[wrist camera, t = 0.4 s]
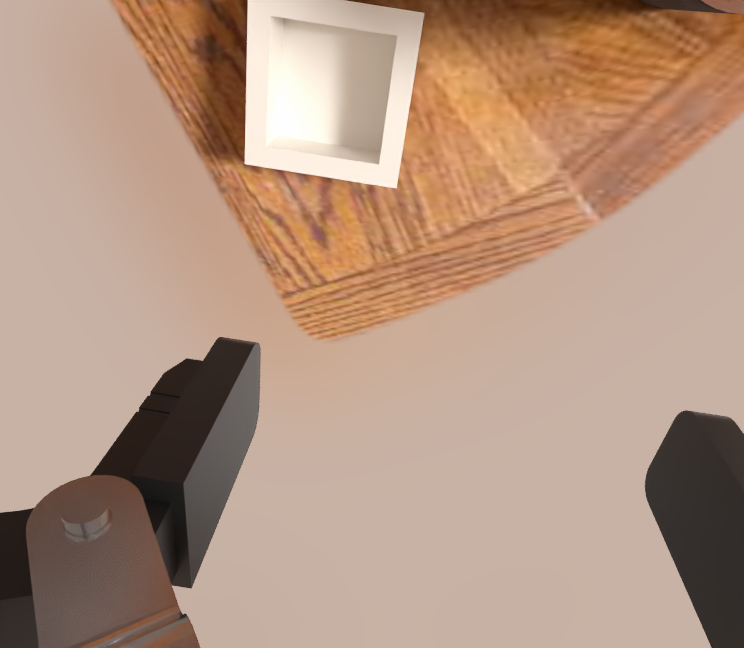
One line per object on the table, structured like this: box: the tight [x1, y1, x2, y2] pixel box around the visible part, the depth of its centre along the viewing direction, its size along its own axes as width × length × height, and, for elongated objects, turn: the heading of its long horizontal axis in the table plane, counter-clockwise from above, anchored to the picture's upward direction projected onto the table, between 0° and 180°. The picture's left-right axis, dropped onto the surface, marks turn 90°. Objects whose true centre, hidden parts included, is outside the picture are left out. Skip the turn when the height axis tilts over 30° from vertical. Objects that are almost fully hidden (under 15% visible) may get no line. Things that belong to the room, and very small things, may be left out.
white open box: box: [245, 0, 425, 188], centre depth 31 cm, size 9×9×4 cm
